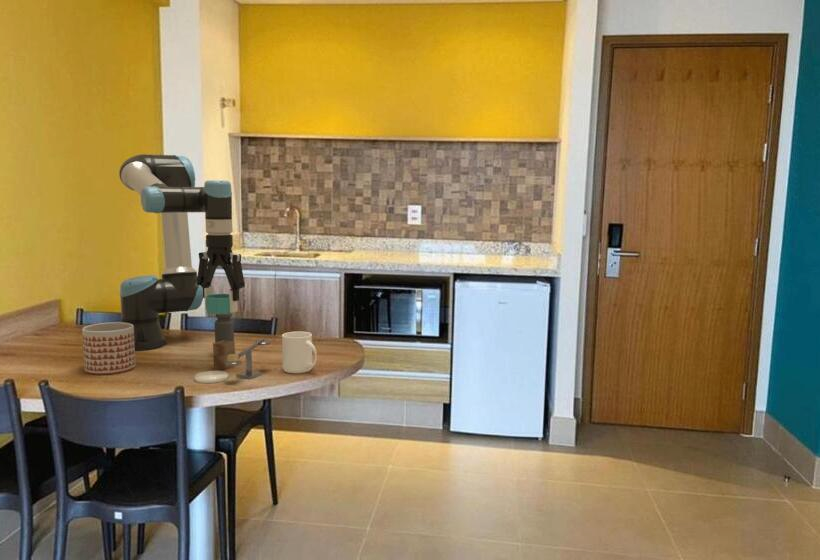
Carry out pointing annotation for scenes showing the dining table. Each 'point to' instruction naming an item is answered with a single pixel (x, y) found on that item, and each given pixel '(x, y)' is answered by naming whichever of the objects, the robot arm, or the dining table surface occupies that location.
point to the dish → (211, 377)
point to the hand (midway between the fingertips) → (221, 310)
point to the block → (222, 353)
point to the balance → (234, 360)
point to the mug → (297, 352)
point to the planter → (108, 348)
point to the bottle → (224, 328)
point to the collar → (218, 304)
